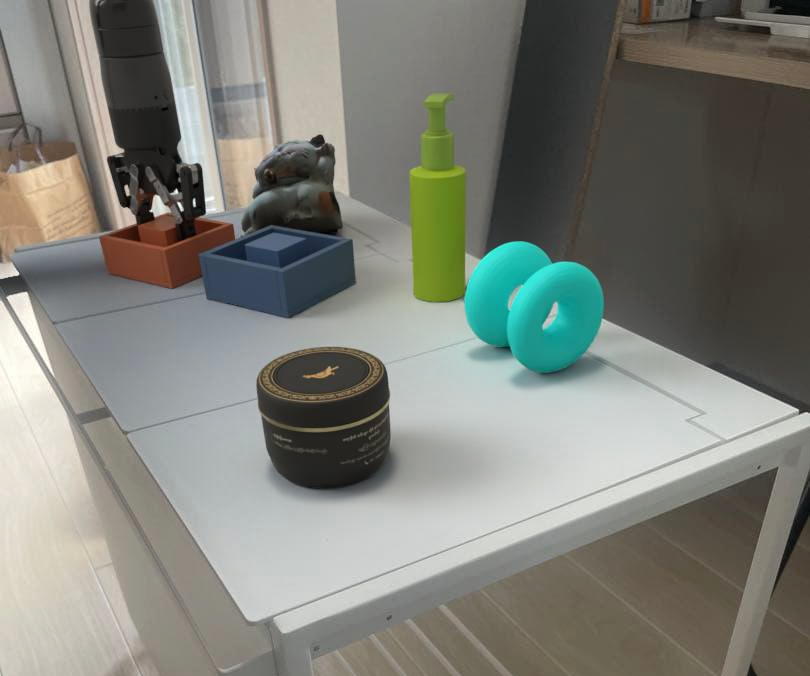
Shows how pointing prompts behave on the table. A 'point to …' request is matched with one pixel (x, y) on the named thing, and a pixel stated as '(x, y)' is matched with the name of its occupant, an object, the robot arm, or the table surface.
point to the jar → (325, 415)
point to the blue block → (276, 250)
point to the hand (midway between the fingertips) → (169, 247)
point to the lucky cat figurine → (295, 189)
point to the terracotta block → (159, 232)
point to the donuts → (534, 306)
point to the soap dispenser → (438, 211)
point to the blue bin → (279, 273)
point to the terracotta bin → (162, 253)
